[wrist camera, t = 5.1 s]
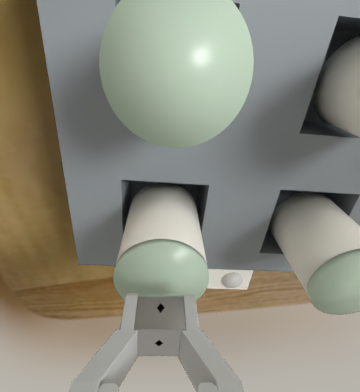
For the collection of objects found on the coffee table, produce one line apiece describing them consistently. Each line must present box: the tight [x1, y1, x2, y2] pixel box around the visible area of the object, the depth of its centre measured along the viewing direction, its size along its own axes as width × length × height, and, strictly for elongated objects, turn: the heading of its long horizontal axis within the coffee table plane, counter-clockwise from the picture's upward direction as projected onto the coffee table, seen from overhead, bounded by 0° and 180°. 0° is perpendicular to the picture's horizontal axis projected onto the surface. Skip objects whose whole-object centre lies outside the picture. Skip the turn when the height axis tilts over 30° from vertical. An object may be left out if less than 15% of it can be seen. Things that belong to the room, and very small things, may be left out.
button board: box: [36, 0, 360, 272], centre depth 17 cm, size 22×18×5 cm
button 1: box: [99, 0, 254, 148], centre depth 10 cm, size 5×5×6 cm
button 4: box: [270, 191, 360, 315], centre depth 15 cm, size 5×5×6 cm
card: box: [207, 269, 254, 290], centre depth 26 cm, size 8×6×1 cm
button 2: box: [113, 182, 209, 300], centre depth 14 cm, size 5×5×6 cm
